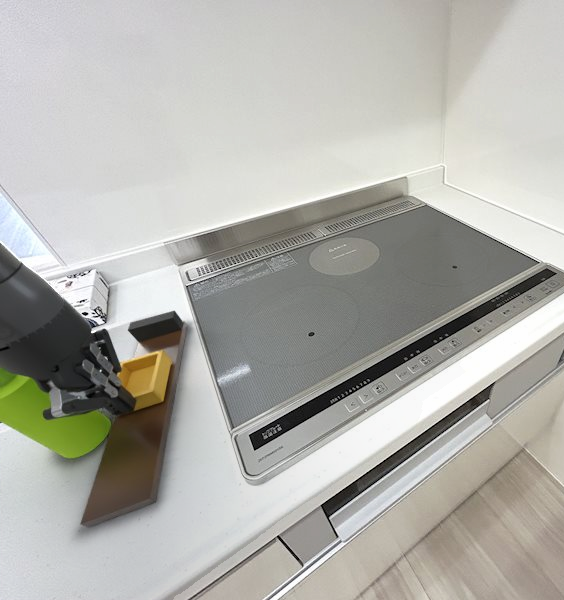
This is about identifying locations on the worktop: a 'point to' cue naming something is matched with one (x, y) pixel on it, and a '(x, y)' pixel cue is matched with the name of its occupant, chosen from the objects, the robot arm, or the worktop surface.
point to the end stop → (155, 326)
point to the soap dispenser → (50, 433)
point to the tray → (146, 378)
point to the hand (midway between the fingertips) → (127, 408)
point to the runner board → (136, 445)
